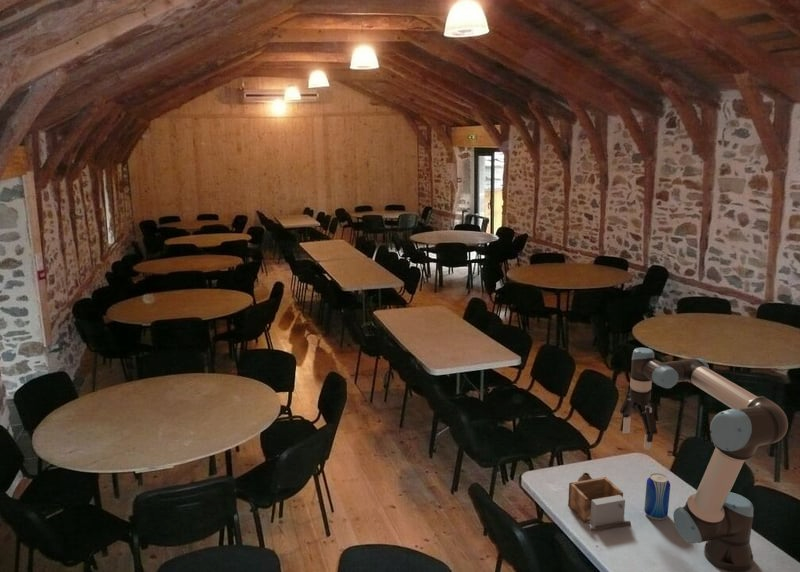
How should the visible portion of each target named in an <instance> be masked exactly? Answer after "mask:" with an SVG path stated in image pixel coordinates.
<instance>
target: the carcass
mask: <svg viewBox="0 0 800 572" xmlns="http://www.w3.org/2000/svg"><path fill="white" fill-rule="evenodd" d="M577 481H578V480H577ZM577 481H574V482H573V481H572V482H569V484H568V505H567V506H568V508H570V509H571V510H572V511H573V512H574V514H575V515H576V516H577V517H578V518H579V519H580V520H581V521H582V522H583V524H585V523H590V516H591V500H593V499H599V498H605V497H611V496H616V495H621V496H622V497H623V498H624V492H623V491H622V490H621V489H620V488H619V487H617V485H616V484H614V483H613V482H612V481H611V480H610V479H609V478H608V477H607V476H603V477H598V478H597V477H596V478H592V479H590V480H584V481H578V482H577ZM631 523H632V522H631V521H630V520H626V521H625V520H624V522H619V523H614V524H608V525H603V526H598V527H593V526H591V527H590V531H591V532H592V533H594V532H601V531H604V530H605V531H606V530H612V529H617V528H621V527H626V526H631Z"/></svg>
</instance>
